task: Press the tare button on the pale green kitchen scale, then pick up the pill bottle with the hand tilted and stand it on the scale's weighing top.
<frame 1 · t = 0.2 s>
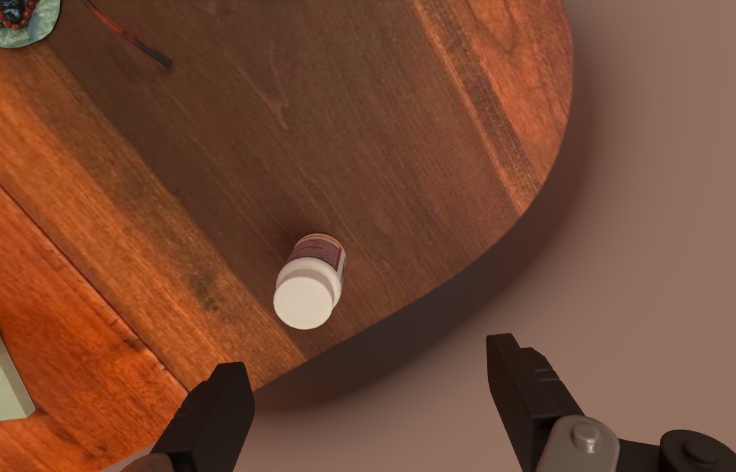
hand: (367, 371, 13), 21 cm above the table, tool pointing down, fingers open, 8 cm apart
pill bottle: (319, 257, 34), on the table
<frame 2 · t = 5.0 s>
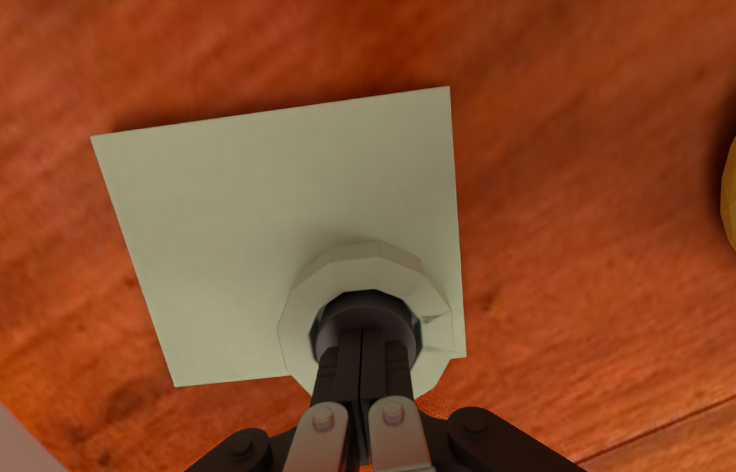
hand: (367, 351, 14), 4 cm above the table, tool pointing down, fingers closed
scale: (299, 246, 17), on the table
tare button: (366, 337, 15), point 3 cm above the table, slide at -0.6 cm, touching gripper
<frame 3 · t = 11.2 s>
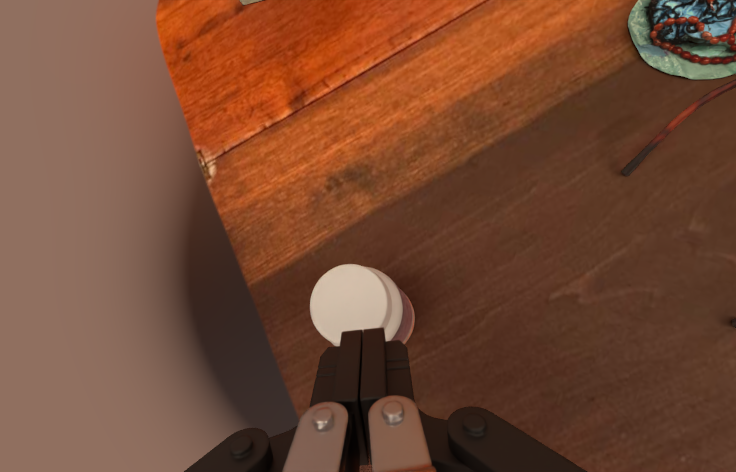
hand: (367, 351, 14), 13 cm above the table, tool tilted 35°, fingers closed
dish: (696, 28, 28), on the table
pill bottle: (381, 318, 27), on the table
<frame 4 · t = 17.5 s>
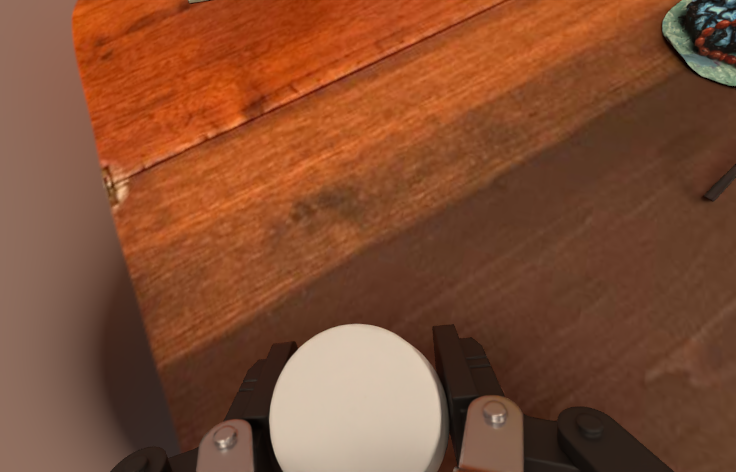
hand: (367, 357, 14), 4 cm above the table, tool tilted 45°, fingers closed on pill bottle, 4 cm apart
pill bottle: (381, 420, 17), on the table, touching gripper
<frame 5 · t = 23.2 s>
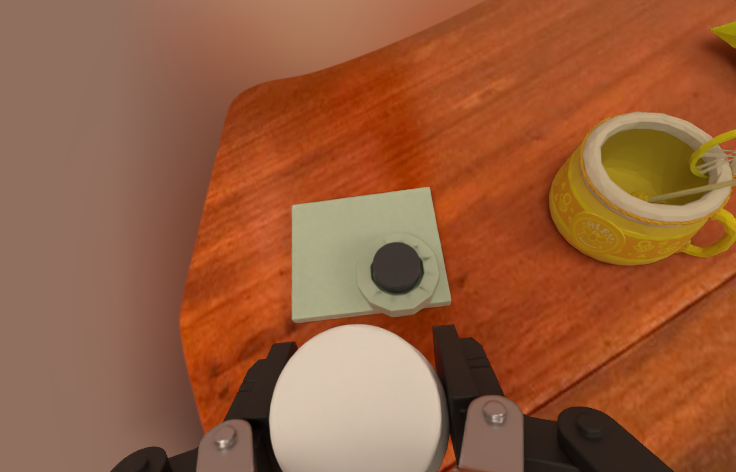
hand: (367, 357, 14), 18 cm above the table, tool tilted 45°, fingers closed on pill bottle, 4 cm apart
mug: (617, 224, 34), on the table
scale: (366, 254, 35), on the table
tare button: (396, 267, 30), point 4 cm above the table, slide at 0.1 cm
pill bottle: (381, 420, 16), point 14 cm above the table, touching gripper
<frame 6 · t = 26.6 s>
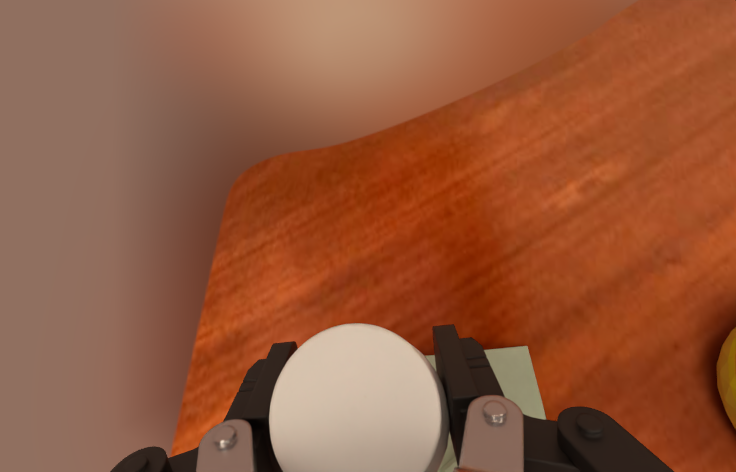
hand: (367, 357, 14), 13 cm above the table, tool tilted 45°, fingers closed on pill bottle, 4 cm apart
scale: (435, 454, 23), on the table
pill bottle: (381, 420, 16), point 9 cm above the table, touching gripper
when the fingers open (5 cm above the table, at t = 29.2 s): pill bottle stays where it is, resting on scale.
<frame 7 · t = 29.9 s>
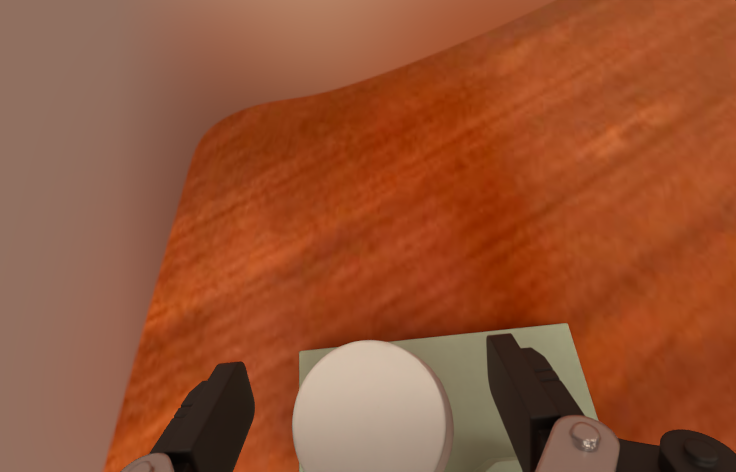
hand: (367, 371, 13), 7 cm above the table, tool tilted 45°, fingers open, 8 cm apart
scale: (448, 466, 17), on the table
pill bottle: (388, 424, 18), point 1 cm above the table, touching scale
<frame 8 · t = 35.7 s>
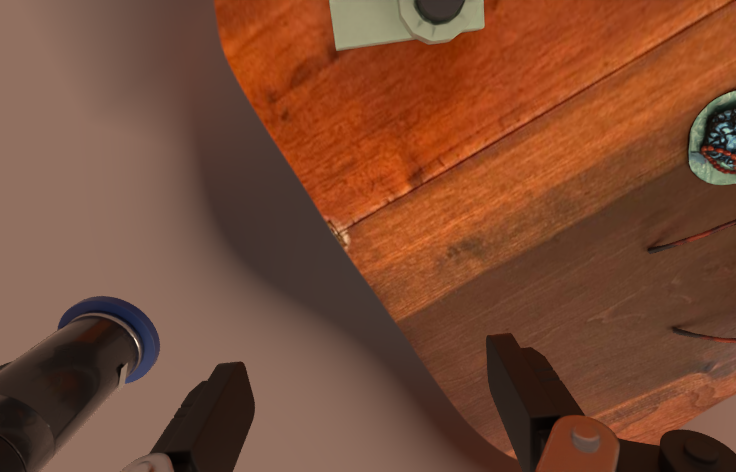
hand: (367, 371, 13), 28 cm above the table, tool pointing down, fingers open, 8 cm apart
sunglasses: (733, 260, 41), on the table
dish: (732, 137, 37), on the table
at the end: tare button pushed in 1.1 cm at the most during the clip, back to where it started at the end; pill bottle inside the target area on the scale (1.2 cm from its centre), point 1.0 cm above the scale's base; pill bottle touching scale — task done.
